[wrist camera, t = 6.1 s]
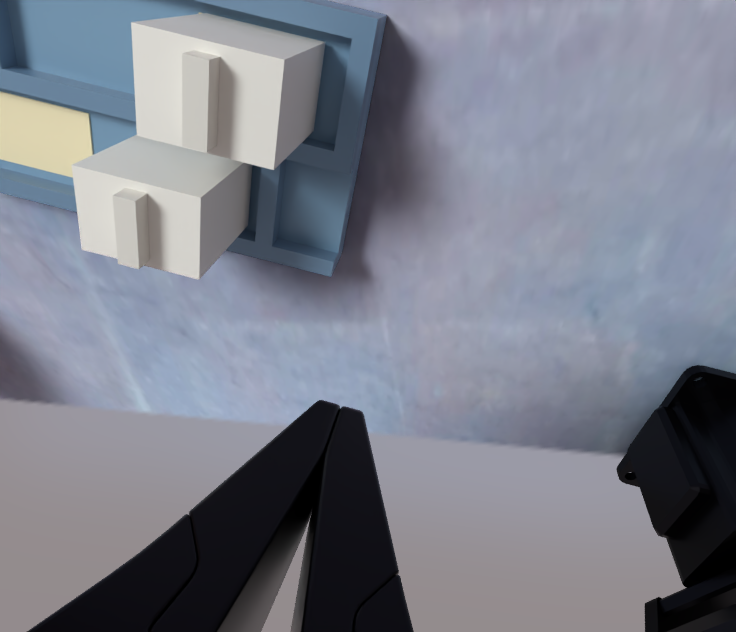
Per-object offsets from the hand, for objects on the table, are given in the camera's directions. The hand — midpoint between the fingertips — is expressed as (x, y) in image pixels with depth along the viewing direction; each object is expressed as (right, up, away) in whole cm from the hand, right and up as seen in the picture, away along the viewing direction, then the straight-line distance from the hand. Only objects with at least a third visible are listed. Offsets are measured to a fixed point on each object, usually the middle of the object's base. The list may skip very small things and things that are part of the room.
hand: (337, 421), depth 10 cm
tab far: (-5, +7, +8) cm, 12 cm away
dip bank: (-7, +9, +8) cm, 14 cm away
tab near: (-3, +9, +6) cm, 11 cm away
